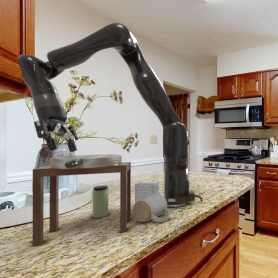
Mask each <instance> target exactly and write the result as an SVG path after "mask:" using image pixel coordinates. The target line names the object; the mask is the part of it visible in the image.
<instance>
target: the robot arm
mask: <svg viewBox="0 0 278 278" xmlns="http://www.w3.org/2000/svg"><path fill="white" fill-rule="evenodd" d="M108 49H114V50H115V51H116V52H117V53H118V54H119V55H120V57H122V59H123V61H124V62H125V64H126V65H127V67H128V70H129V71H130V75H131V79H132V82H133V85H134V87H135V89H136V90H137V92H138V93H139V95H140V97H141V98H142V100H143V101H144V103H145V104H146V105H147V107H148V108H149V109H150V110H151V111H152V113H154V115H155V116H156V118H157V119H158V120H159V122H160V124H161V126H162V128H163V130H162V131H163V132H162V151H163V152H162V155H163V159H164V164H163V168H164V173H163V174H164V175H163V177H164V179H163V181H164V182H163V183H164V184H163V187H164V188H163V189H164V191H163V192H164V193H163V196H164V198H165V199H166V201H167V208H180V207H183V206H188V205H190V202H195V201H196V198H197V199H198V198H199V199H200V202H201V203H202V202H203V201H204V200H203V197H202V196H200V195H198V194H196V192H195V191H194V190H190V180H189V149H188V148H189V147H188V144H189V142H188V140H189V135H190V132H189V128H188V126H186V125H185V124H184V122H183V121H182V119H181V117H179V115H178V114H177V112H176V111H175V109H174V107H173V104H172V102H171V100H170V98H169V96H168V93H167V91H166V90H165V87H164V85H163V84H162V82H161V81H160V79H159V78H158V76H157V74H156V73H155V71H154V70H153V68H152V67H151V66H150V64H149V63H148V61H147V60H146V58H145V56H144V54H143V52H142V49H141V47H140V45H139V42H138V41H137V38H136V37H135V35H134V34H133V33H132V32H131V30H130V29H129V28H128V27H127V26H126V25H124V24H122V23H120V22H112V23H109V24H107V25H105V26H103V27H101V28H99V29H98V30H96V31H94V32H92V33H90V34H89V35H87V36H85V37H83V38H81V39H79V40H77V41H75V42H73V43H70V44H67V45H64V46H61V47H58V48H55V49H52V50H50V51H48V52H47V53H46V59H47V60H48V61H44V60H42V59H40V58H39V57H37V56H35V55H32V54H30V53H29V54H28V53H24V54H20V55H19V56H18V57H17V58H18V64H19V66H20V68H21V71H22V77H21V79H22V78H23V79H22V80H23V82H24V83H25V84H26V86H27V87H28V89H29V93H30V95H31V98H32V102H33V107H34V110H35V113H36V115H37V119H38V120H36V121H33V125H34V128H35V132H36V137H37V138H38V139H43V140H44V141H45V142H46V146H47V148H48V150H49V152H54V151H57V150H59V149H58V148H59V147H58V143H57V140H56V138H55V137H59V138H60V139H61V140H64V141H65V142H66V145H67V148H68V151H69V152H70V153H74V152H76V151H78V148H77V145H76V141H78V140H79V137H78V135H77V132H76V129H75V127H74V125H70V126H69V125H67V123H66V122H67V121H68V116H67V113H66V110H65V107H64V104H63V101H62V99H61V97H60V95H59V93H58V89H57V87H56V85H55V84H54V83H53V82H52V81H51V80H53V79H55V78H56V77H58V76H60V75H61V74H62V73H64V72H65V71H66V70H69V69H72V68H74V67H78V66H80V65H82V64H84V63H86V62H87V61H88V60H90V58H92V57H93V56H94V55H95V54H97V53H99V52H100V51H104V50H108ZM34 62H35V63H34ZM34 64H35V71H34ZM49 88H50V89H49Z"/></svg>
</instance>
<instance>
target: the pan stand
mask: <svg viewBox="0 0 278 278" xmlns="http://www.w3.org/2000/svg"><path fill="white" fill-rule="evenodd" d="M122 158H123V157H122V155H121V154H80V155H79V154H78V155H77V154H76V155H63V156H54V157H50V158H49V165H44V166H40V167H36V168H32V247H36V246H41V245H42V244H43V243H44V205H45V203H44V200H45V199H44V195H45V194H44V186H45V185H44V179H45V178H46V177H49V233H51V232H52V233H53V232H57V231H58V230H59V225H60V224H59V219H60V218H59V217H60V216H59V212H60V211H59V201H60V200H59V198H60V197H59V196H60V195H59V191H60V190H59V186H60V185H59V184H60V183H59V182H60V181H59V177H61V176H62V177H63V176H65V177H66V176H81V175H82V176H83V175H100V174H101V175H103V174H118V173H119V186H120V187H119V190H120V191H119V224H120V225H119V233H127V231H128V222H130V221H131V219H132V162H131V161H123V160H122Z"/></svg>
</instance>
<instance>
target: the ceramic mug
mask: <svg viewBox="0 0 278 278" xmlns="http://www.w3.org/2000/svg"><path fill="white" fill-rule="evenodd" d="M164 214H165V215H166V217H160V216H162V215H164ZM132 215H133V217H134V219H135V220H136V221H137V222H139V223H148V222H150V221H154V222H156V223H165V222H167V221H168V220H169V219H170V215H171V213H170V210H168V207H167V201H166V199H165V198H164V194H161V193H160V192H159V193H154V194H152V195H150V196H148V197H146V198H143V199H141V200H139V201H138V202H137V203H136V204H135V203H134V205H133V206H132Z"/></svg>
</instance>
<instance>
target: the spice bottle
mask: <svg viewBox="0 0 278 278" xmlns="http://www.w3.org/2000/svg"><path fill="white" fill-rule="evenodd" d="M108 215H109V186H108V185H105V184H103V185H96V186H93V190H92V218H95V219H98V218H99V219H100V218H104V217H106V216H108Z"/></svg>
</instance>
